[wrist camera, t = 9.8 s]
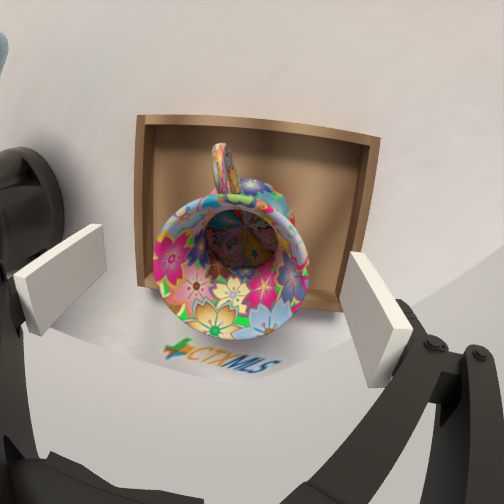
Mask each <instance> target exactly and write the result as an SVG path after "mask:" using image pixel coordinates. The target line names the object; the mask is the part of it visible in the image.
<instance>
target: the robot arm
mask: <svg viewBox="0 0 504 504" xmlns="http://www.w3.org/2000/svg"><path fill="white" fill-rule="evenodd" d="M7 54H8V41H7V39H6V37H5V35H4V34H3V33H2V32H0V75H1V72H2V69H3V66H4V63H5V60H6V58H7ZM63 227H64V210H63V202H62V197H61V192H60V189H59V186H58V183H57V180H56V178H55V176H54V173H53V172H52V170H51V168H50V166H49V165H48V163H47V162H46V161H45V160H44V159H43V157H42V156H40V155H39V154H38V153H37V152H35V151H34V150H32V149H29V148H25V147H17V148H12V149H7V150H3V151H1V152H0V504H204V499H201V498H195V497H189V496H184V495H179V494H174V493H170V492H166V491H162V490H142V489H128V488H118V487H115V486H113V485H111V484H110V483H108V482H106V481H105V480H103V479H102V478H100V477H99V476H97V475H96V474H94V473H93V472H91V471H90V470H89V469H87V468H86V467H84V466H83V465H81V464H79V463H76V462H74V461H71V460H69V459H67V458H65V457H62V456H60V455H58V454H56V453H54V452H52V451H50V453H49V455H48V457H47V459H40V458H39V456H38V453H37V450H36V445H35V440H34V436H33V430H32V424H31V419H30V412H29V405H28V397H27V389H26V378H25V366H24V346H23V330H22V328H21V324H22V323H23V322H24V321H26V324H27V327H28V330H29V332H30V333H33V334H36V335H39V336H42V335H43V334H44V333H45V332H46V331H47V329H48V328H50V326H51V325H52V324H53V323H54V322H55V321H56V320H57V319H58V318H59V317H60V316H61V315H62V314H63V313H64V312H65V311H66V310H67V309H68V308H69V307H70V306H71V305H72V304H73V303H74V302H75V301H76V300H77V299H78V298H79V297H80V296H81V295H82V294H83V293H84V292H85V291H86V290H87V289H88V288H89V287H90V286H91V285H92V284H93V283H94V282H95V281H96V280H97V279H98V278H99V277H100V276H101V275H102V274H103V273H104V272H105V271H106V270H107V269H106V260H105V249H104V237H103V225H101V224H90V225H88V226H87V227H85V228H83V229H82V230H80V231H78V232H77V233H75V234H73V235H72V236H70V237H69V238H67V239H66V240H64V241H62V242H61V239H62V235H63ZM60 242H61V243H60ZM11 274H14V275H13V276H12V277H11V278H9V279H7V275H11ZM339 300H340V303H341V306H342V309H343V312H344V314H345V317H346V320H347V323H348V326H349V329H350V332H351V335H352V338H353V341H354V344H355V347H356V350H357V353H358V356H359V360H360V363H361V366H362V369H363V372H364V376H365V379H366V382H367V386H368V388H385V389H384V391H383V392H382V394H381V395H380V396H379V398H378V399H377V401H376V402H375V403H374V405H373V406H372V407H371V409H370V410H369V411H368V413H367V414H366V415H365V416H364V418H363V419H362V420H361V422H360V423H359V424H358V425H357V427H356V428H355V429H354V430H353V432H352V433H351V434H350V435H349V436H348V438H347V439H346V440H345V441H344V442H343V444H342V445H341V446H340V447H339V448H338V449H337V451H336V452H335V453H334V454H333V455H332V456H331V457H330V458H329V459H328V461H327V462H326V463H325V464H324V465H323V466H322V467H321V468H320V469H319V470H318V471H317V472H316V474H314V476H312V477H311V478H310V479H309V480H308V481H307V482H303V483H302V484H301V485H299V486H298V487H297V488H296V489H295V490H294V491H293V492H292V493H291V494H290V495H288V496H287V497H286V498H285V499H284V500H283V501H282V502H281V503H280V504H368V503H369V502H370V500H371V499H372V497H373V496H374V495H375V493H376V492H377V490H378V489H379V487H380V486H381V484H382V483H383V482H384V480H385V478H386V477H387V475H388V474H389V472H390V471H391V469H392V468H393V466H394V464H395V463H396V461H397V459H398V458H399V456H400V454H401V453H402V451H403V449H404V447H405V446H406V444H407V442H408V440H409V438H410V437H411V435H412V432H413V431H414V429H415V427H416V425H417V423H418V421H419V419H420V417H421V415H422V413H423V411H424V409H425V407H426V405H427V403H428V402H430V403H435V404H436V413H435V422H434V431H433V438H432V445H431V451H430V457H429V463H428V468H427V473H426V478H425V483H424V488H423V492H422V496H421V500H420V504H504V418H503V408H502V401H501V394H500V388H499V382H498V377H497V371H496V366H495V362H494V358H493V356H492V354H491V353H490V352H489V350H487V349H485V347H483V346H479V345H474V344H473V345H469V346H468V347H467V348H466V350H465V352H464V354H458V353H453V352H449V351H448V349H449V348H448V346H447V344H446V343H445V342H444V341H443V340H441V339H440V338H438V337H436V336H433V335H428V334H427V333H426V331H425V329H424V328H423V326H422V325H421V323H420V322H419V320H417V317H416V316H415V314H413V311H412V310H411V308H410V307H409V305H407V304H406V303H405V302H404V301H402V300H401V299H394V297H393V295H392V294H391V292H390V291H389V289H388V288H387V286H386V285H385V283H384V282H383V280H382V279H381V277H380V276H379V274H378V273H377V271H376V270H375V268H374V267H373V265H372V264H371V262H370V261H369V259H368V258H367V256H366V255H365V254H364V253H360V252H352V251H350V254H349V259H348V263H347V268H346V272H345V276H344V280H343V285H342V289H341V293H340V297H339ZM391 377H393V378H392V379H391ZM390 379H391V381H390ZM389 381H390V382H389ZM388 383H389V384H388Z"/></svg>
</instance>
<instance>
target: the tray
mask: <svg viewBox="0 0 504 504" xmlns="http://www.w3.org/2000/svg"><path fill="white" fill-rule="evenodd" d="M380 139H381V138H379V137H374V136H370V135H365V134H360V133H355V132H349V131H344V130H338V129H333V128H327V127H320V126H314V125H307V124H300V123H292V122H284V121H275V120H265V119H255V118H242V117H228V116H208V115H137V123H136V139H135V163H134V229H135V254H136V271H137V284H138V286H141V287H147V288H153V289H158V287H157V284H156V281H155V277H154V271H153V254H154V248H155V244H156V241H157V238H158V236H159V234H160V231H161V230H162V228H163V226H164V225H165V223H166V222H167V221H168V220H169V218H170V217H171V216H172V215H173V214H174V213H176V212H177V211H178V210H179V209H180V208H182V207H183V206H185V205H187V204H188V203H190V202H192V201H194V200H197V199H199V198H202V197H206V196H208V195H209V193H210V192H211V191H213V190H214V189H215V188H216V187H215V183H214V178H213V170H212V149H213V147H214V145H216V144H218V143H225V144H227V145H228V147H229V149H230V151H231V154H232V156H233V160H234V163H235V167H236V171H237V175H238V179H240V178H250V179H256V180H260V181H263V182H265V183H267V184H269V185H271V186H273V187H274V188H276V189H277V190H278V191H279V192H280V193H281V194H282V195H283V196H284V197H285V198H286V200H287V201H288V203H289V204H290V206H291V209H292V211H293V214H294V218H295V228H296V230H297V231H298V233H299V235H300V236H301V238H302V240H303V242H304V244H305V247H306V250H307V253H308V258H309V263H310V280H309V286H308V290H307V293H306V296H305V298H304V300H303V302H302V304H301V306H300V307H299V308H302V309H312V310H322V311H333V312H343V309H342V306H341V303H340V300H339V297H340V293H341V289H342V285H343V280H344V276H345V272H346V268H347V263H348V259H349V254H350V251H352V252H360V253H361V248H362V244H363V239H364V234H365V230H366V225H367V220H368V215H369V209H370V204H371V198H372V193H373V187H374V181H375V175H376V168H377V161H378V154H379V147H380ZM225 171H226V170H225ZM226 178H227V181H228V177H227V173H226Z"/></svg>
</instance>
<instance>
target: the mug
mask: <svg viewBox="0 0 504 504" xmlns="http://www.w3.org/2000/svg"><path fill="white" fill-rule="evenodd" d="M212 170H213V178H214V183H215V187H216V188H215V189H214V190H213V191H211V192H210V193H209V195H208V196H206V197H202V198H199V199H197V200H194V201H192V202H190V203H188V204H187V205H185V206H183V207H182V208H180V209H179V210H178V211H177V212H176V213H174V214H173V215H172V216H171V217H170V218H169V220H168V221H167V222H166V223H165V225H164V226H163V228H162V230H161V231H160V234H159V236H158V238H157V241H156V244H155V248H154V254H153V271H154V277H155V281H156V284H157V287H158V290H159V292H160V294H161V296H162V298H163V299H164V301H165V303H166V304H167V305H168V307H169V308H170V309H171V310H172V312H173V313H174V314H175V315H176V316H177V317H178V318H180V319H181V320H182V321H183V322H185V323H186V324H187V325H189V326H190V327H192V328H194V329H196V330H197V331H200V332H202V333H204V334H207V335H210V336H213V337H217V338H222V339H230V340H243V339H251V338H256V337H260V336H263V335H266V334H268V333H270V332H272V331H274V330H276V329H278V328H279V327H281V326H282V325H284V324H285V323H286V322H287V321H288V320H289V319H290V318H291V317H292V316H293V315H294V314H295V313H296V311H297V310H298V309H299V307H300V306H301V304H302V302H303V300H304V298H305V296H306V293H307V290H308V286H309V280H310V263H309V258H308V253H307V250H306V247H305V244H304V242H303V240H302V238H301V236H300V235H299V233H298V231H297V230H296V228H295V218H294V214H293V211H292V209H291V206H290V204H289V203H288V201H287V200H286V198H285V197H284V196H283V195H282V194H281V193H280V192H279V191H278V190H277V189H276V188H274V187H273V186H271V185H269V184H267V183H265V182H263V181H260V180H256V179H250V178H240V179H238V175H237V171H236V167H235V163H234V160H233V156H232V154H231V151H230V149H229V147H228V145H227V144H225V143H218V144H216V145H214V147H213V149H212ZM225 170H226V171H225ZM226 173H227V177H228V181H227V178H226Z"/></svg>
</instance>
